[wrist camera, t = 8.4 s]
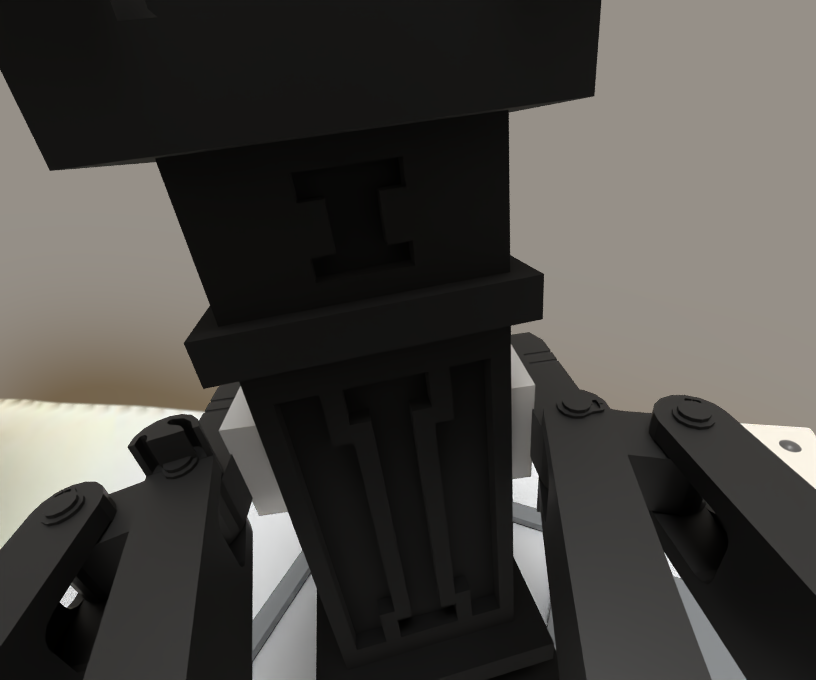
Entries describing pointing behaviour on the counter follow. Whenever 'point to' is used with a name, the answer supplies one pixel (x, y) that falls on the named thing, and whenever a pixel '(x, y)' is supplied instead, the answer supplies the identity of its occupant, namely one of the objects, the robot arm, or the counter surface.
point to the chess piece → (344, 272)
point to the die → (790, 447)
